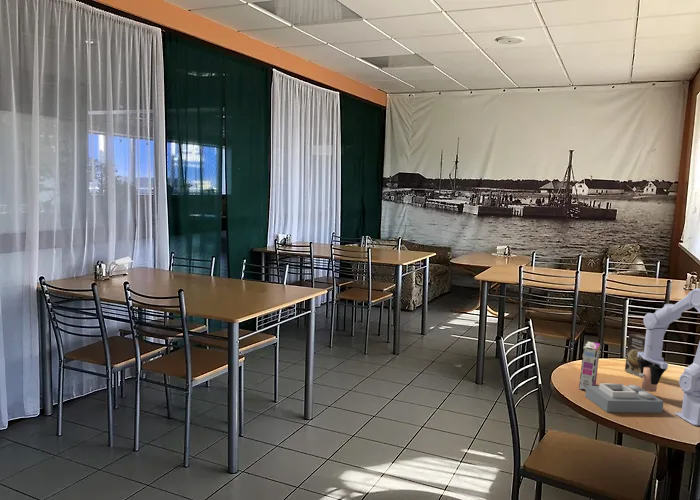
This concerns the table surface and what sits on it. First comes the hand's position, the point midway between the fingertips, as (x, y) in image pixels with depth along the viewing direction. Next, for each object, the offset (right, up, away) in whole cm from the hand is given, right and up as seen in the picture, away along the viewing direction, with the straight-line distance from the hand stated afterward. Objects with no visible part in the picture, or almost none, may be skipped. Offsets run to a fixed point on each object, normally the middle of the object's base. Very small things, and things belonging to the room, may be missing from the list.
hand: (649, 381), depth 201 cm
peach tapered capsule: (0, -3, 0) cm, 3 cm away
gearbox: (-15, -6, -10) cm, 19 cm away
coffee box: (+9, -3, +26) cm, 27 cm away
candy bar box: (-20, -4, +7) cm, 21 cm away
